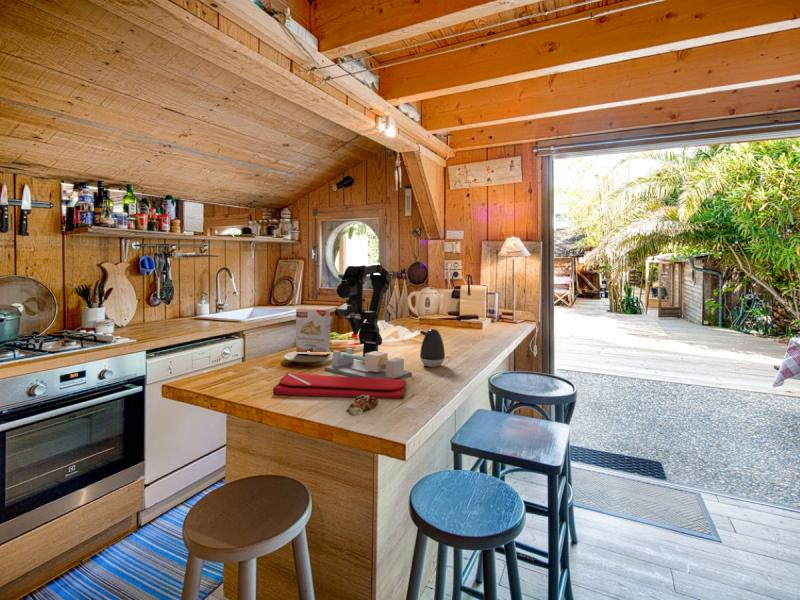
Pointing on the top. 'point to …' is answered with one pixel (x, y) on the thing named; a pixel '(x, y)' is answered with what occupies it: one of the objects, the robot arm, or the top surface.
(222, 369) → the top surface
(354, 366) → the board
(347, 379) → the dish drying mat
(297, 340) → the cracker box
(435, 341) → the pump dispenser
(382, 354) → the sleeve
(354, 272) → the robot arm
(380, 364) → the pale teal rod
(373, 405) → the pastry
